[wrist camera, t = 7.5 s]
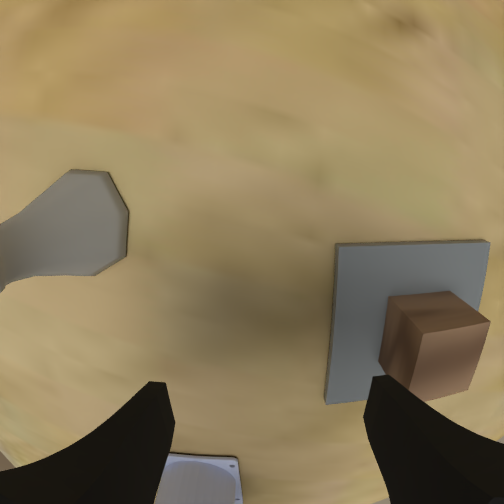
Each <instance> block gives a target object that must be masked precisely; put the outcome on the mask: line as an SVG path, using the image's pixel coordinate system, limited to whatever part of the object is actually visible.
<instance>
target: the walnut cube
mask: <svg viewBox="0 0 504 504" xmlns="http://www.w3.org/2000/svg"><path fill="white" fill-rule="evenodd" d="M490 322H491V321H489V320H488V319H487V318H485V317H484V316H483V315H482V314H480V313H479V312H478V311H476V310H475V309H474V308H472V307H471V306H470V305H468V304H467V303H466V302H464V301H463V300H462V299H460V298H459V297H458V296H456V295H455V294H454V293H452V292H451V291H442V292H432V293H422V294H411V295H400V296H388V304H387V311H386V318H385V325H384V331H383V337H382V343H381V349H380V354H379V359H378V362H379V364H380V365H381V367H382V369H383V371H384V372H385V374H386V375H387V374H389V375H390V376H391V377H393V378H394V379H395V380H397V381H398V382H399V383H400V384H402V385H403V386H404V387H405V388H407V389H408V390H409V391H410V392H412V393H413V394H414V395H415V396H417V397H418V398H419V399H421V400H422V401H423V402H425V401H429V400H433V399H437V398H441V397H445V396H448V395H452V394H456V393H459V392H462V391H466V390H468V388H469V386H470V383H471V381H472V378H473V375H474V373H475V370H476V367H477V364H478V361H479V358H480V355H481V352H482V349H483V346H484V343H485V340H486V336H487V333H488V329H489V326H490Z"/></svg>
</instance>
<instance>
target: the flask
mask: <svg viewBox="0 0 504 504" xmlns="http://www.w3.org/2000/svg"><path fill="white" fill-rule="evenodd" d="M127 223H128V210H127V209H126V207H125V205H124V203H123V201H122V199H121V197H120V195H119V194H118V192H117V190H116V188H115V186H114V184H113V182H112V180H111V178H110V176H109V174H108V172H100V171H87V170H73V169H71V170H69V171H68V172H67V173H65V174H64V175H63V176H62V177H61V178H59V179H58V180H57V181H56V182H55V183H54V184H52V185H51V186H50V187H49V188H48V189H47V190H46V191H44V192H43V193H42V194H41V195H39V196H38V197H37V198H36V199H35V200H33V201H32V202H31V203H30V204H29V205H28V206H26V207H25V208H24V209H23V210H22V211H21V212H20V213H18V214H16V215H15V216H13V217H11V218H10V219H8V220H6V221H5V222H3V223H1V224H0V293H1V292H2V291H3V290H4V288H5V286H6V285H7V284H9V283H11V282H14V281H18V280H21V279H25V278H29V277H33V276H56V275H71V276H96V275H97V274H99V273H100V272H102V271H103V270H105V269H107V268H108V267H110V266H112V265H113V264H115V263H116V262H118V261H120V260H121V259H123V258H125V257H126V239H127Z"/></svg>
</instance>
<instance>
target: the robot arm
mask: <svg viewBox="0 0 504 504" xmlns="http://www.w3.org/2000/svg"><path fill="white" fill-rule="evenodd" d="M363 418H364V423H365V427H366V432H367V436H368V440H369V442H370V445H371V448H372V450H373V453H374V455H375V458H376V461H377V463H378V466H379V468H380V471H381V474H382V476H383V479H384V481H385V484H386V487H387V490H388V493H389V498H390V502H391V504H504V444H502V443H499V442H496V441H493V440H491V439H488V438H486V437H483V436H480V435H478V434H476V433H474V432H472V431H470V430H468V429H466V428H464V427H462V426H460V425H458V424H456V423H455V422H453V421H451V420H450V419H448V418H446V417H445V416H443V415H442V414H440V413H439V412H437V411H436V410H434V409H433V408H431V407H430V406H429V405H427V404H426V403H425V402H423V401H422V400H421V399H419V398H418V397H417V396H415V395H414V394H413V393H412V392H410V391H409V390H408V389H407V388H405V387H404V386H403V385H402V384H400V383H399V382H398V381H397V380H395V379H394V378H393V377H391V376H390V375H389V374H387V375H380V376H373V378H372V383H371V387H370V391H369V395H368V400H367V404H366V408H365V412H364V415H363ZM174 427H175V420H174V416H173V412H172V408H171V404H170V399H169V395H168V391H167V386H166V383H164V382H152V381H149V382H148V383H147V384H146V385H145V386H144V387H143V388H142V389H141V390H139V391H138V392H137V393H136V394H135V395H134V396H133V397H132V398H131V399H130V400H129V401H128V402H127V403H126V404H125V405H124V406H122V407H121V408H120V409H119V410H118V411H117V412H116V413H115V414H113V415H112V416H111V417H110V418H109V419H107V420H106V421H105V422H104V423H102V424H101V425H100V426H99V427H97V428H96V429H95V430H94V431H92V432H91V433H89V434H88V435H86V436H85V437H83V438H82V439H80V440H79V441H77V442H75V443H74V444H72V445H70V446H69V447H67V448H65V449H63V450H61V451H59V452H57V453H55V454H53V455H51V456H49V457H46V458H44V459H41V460H39V461H36V462H34V463H31V464H28V465H25V466H21V467H18V468H14V469H9V470H5V471H1V472H0V504H154V500H155V496H156V492H157V489H158V486H159V489H158V493H157V496H156V500H155V504H243V496H242V489H241V482H240V474H239V466H238V460H237V459H236V458H234V457H209V456H193V455H181V454H171V453H169V451H170V448H171V444H172V439H173V433H174ZM160 480H161V481H160ZM159 483H160V485H159Z"/></svg>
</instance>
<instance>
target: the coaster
mask: <svg viewBox="0 0 504 504" xmlns="http://www.w3.org/2000/svg"><path fill="white" fill-rule="evenodd" d="M489 249H490V242H488V241H485V240H458V241H416V242H378V243H342V244H336V246H335V273H334V293H333V309H332V323H331V335H330V346H329V357H328V367H327V376H326V385H325V393H324V401H325V404H326V405H328V404H338V403H346V402H354V401H361V400H368V395H369V391H370V387H371V383H372V378H373V376H380V375H386V374H385V372H384V371H383V369H382V367H381V365H380V364H379V362H378V359H379V354H380V349H381V343H382V337H383V331H384V325H385V318H386V311H387V304H388V296H400V295H411V294H422V293H432V292H442V291H451V292H452V293H454V294H455V295H456V296H458V297H459V298H460V299H462V300H463V301H464V302H466V303H467V304H468V305H470V306H471V307H472V308H474V309H475V310H476V311H478V310H479V305H480V301H481V296H482V291H483V286H484V281H485V275H486V269H487V263H488V256H489Z"/></svg>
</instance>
